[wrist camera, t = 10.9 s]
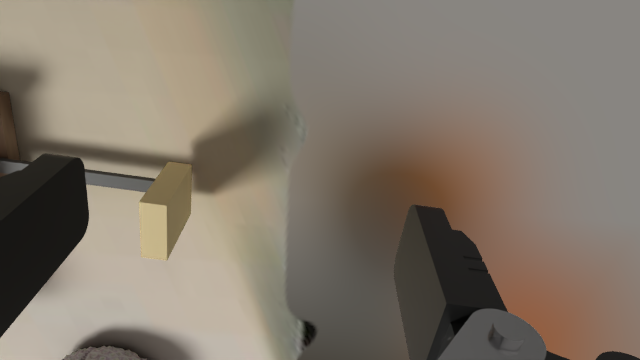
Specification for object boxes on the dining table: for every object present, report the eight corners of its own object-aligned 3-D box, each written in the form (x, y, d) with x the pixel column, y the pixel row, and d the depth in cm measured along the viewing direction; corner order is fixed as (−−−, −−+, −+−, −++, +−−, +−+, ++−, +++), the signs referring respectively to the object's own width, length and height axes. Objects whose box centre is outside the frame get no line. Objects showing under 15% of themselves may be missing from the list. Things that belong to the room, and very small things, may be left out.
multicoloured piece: (-120, 104, 38) (-210, 137, 32) (192, 148, 40) (166, 187, 33) (-95, 188, 42) (-171, 233, 36) (191, 226, 43) (167, 275, 37)
